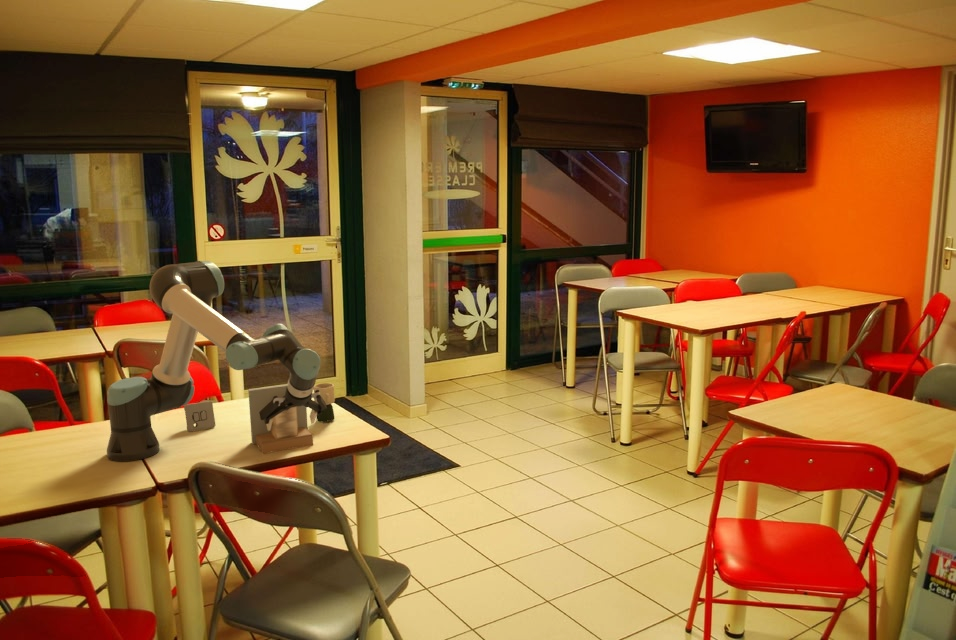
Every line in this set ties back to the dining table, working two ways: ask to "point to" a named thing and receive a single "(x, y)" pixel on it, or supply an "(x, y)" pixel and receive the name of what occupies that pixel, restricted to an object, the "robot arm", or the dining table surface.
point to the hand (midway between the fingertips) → (290, 423)
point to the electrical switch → (199, 416)
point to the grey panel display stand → (259, 428)
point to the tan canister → (285, 424)
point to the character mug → (326, 401)
